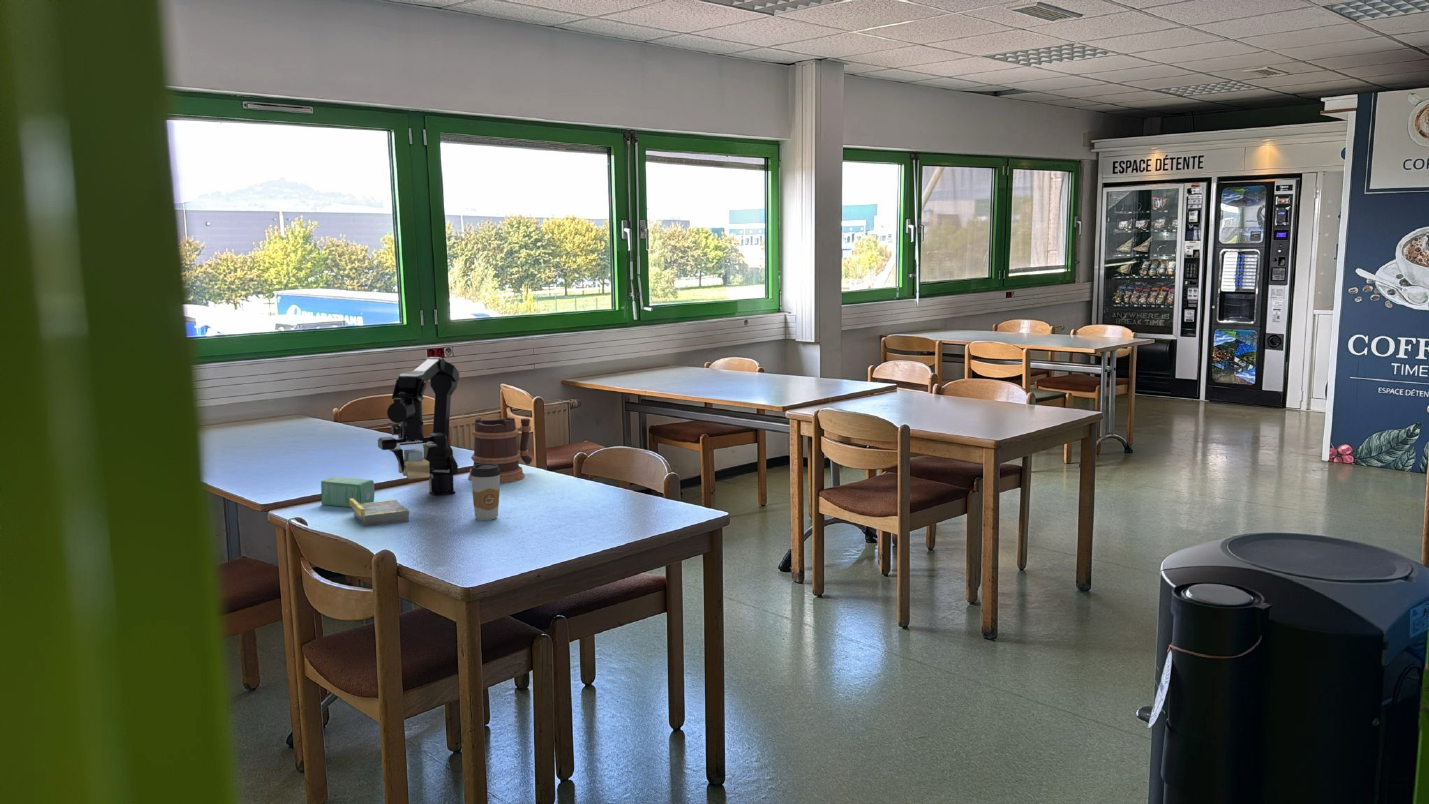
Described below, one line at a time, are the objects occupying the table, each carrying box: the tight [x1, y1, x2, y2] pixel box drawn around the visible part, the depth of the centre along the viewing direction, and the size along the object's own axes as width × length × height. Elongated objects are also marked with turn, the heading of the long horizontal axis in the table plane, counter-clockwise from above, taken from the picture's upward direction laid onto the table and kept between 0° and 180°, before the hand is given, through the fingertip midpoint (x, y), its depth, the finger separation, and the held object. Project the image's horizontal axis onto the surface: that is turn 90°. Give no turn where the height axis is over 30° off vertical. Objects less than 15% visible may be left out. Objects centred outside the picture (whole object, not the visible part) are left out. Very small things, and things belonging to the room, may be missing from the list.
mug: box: [467, 416, 533, 484], centre depth 348 cm, size 18×23×20 cm
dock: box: [349, 498, 410, 527], centre depth 295 cm, size 13×14×5 cm
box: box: [320, 476, 375, 508], centre depth 311 cm, size 7×14×8 cm, turn 75°
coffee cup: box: [469, 464, 501, 521], centre depth 296 cm, size 8×8×15 cm
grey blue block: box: [403, 448, 424, 461], centre depth 304 cm, size 5×4×2 cm
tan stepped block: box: [397, 455, 431, 480], centre depth 304 cm, size 11×6×4 cm, turn 31°
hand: (413, 470), depth 304 cm, fingers closed on tan stepped block, 6 cm apart
